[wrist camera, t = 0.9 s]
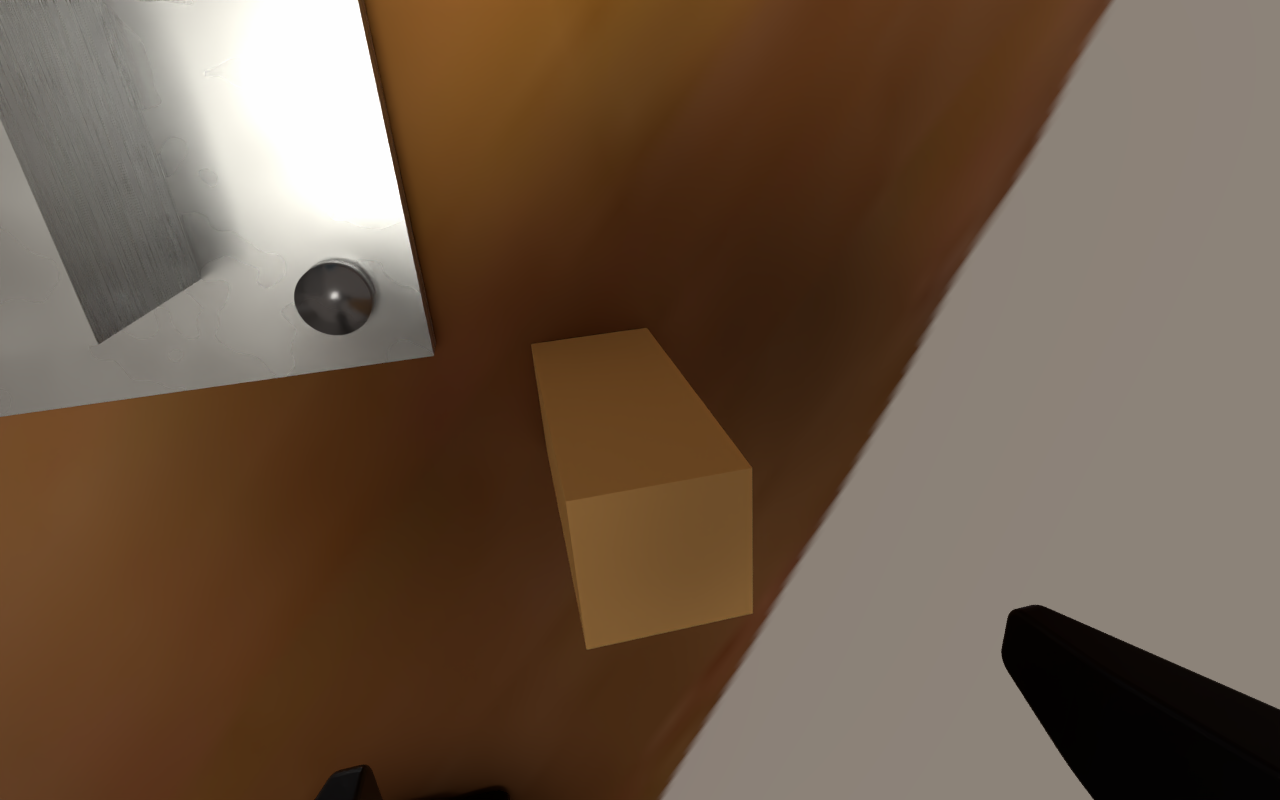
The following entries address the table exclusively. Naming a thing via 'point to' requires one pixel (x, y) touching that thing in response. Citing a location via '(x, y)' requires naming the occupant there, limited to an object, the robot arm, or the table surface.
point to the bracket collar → (196, 199)
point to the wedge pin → (643, 489)
